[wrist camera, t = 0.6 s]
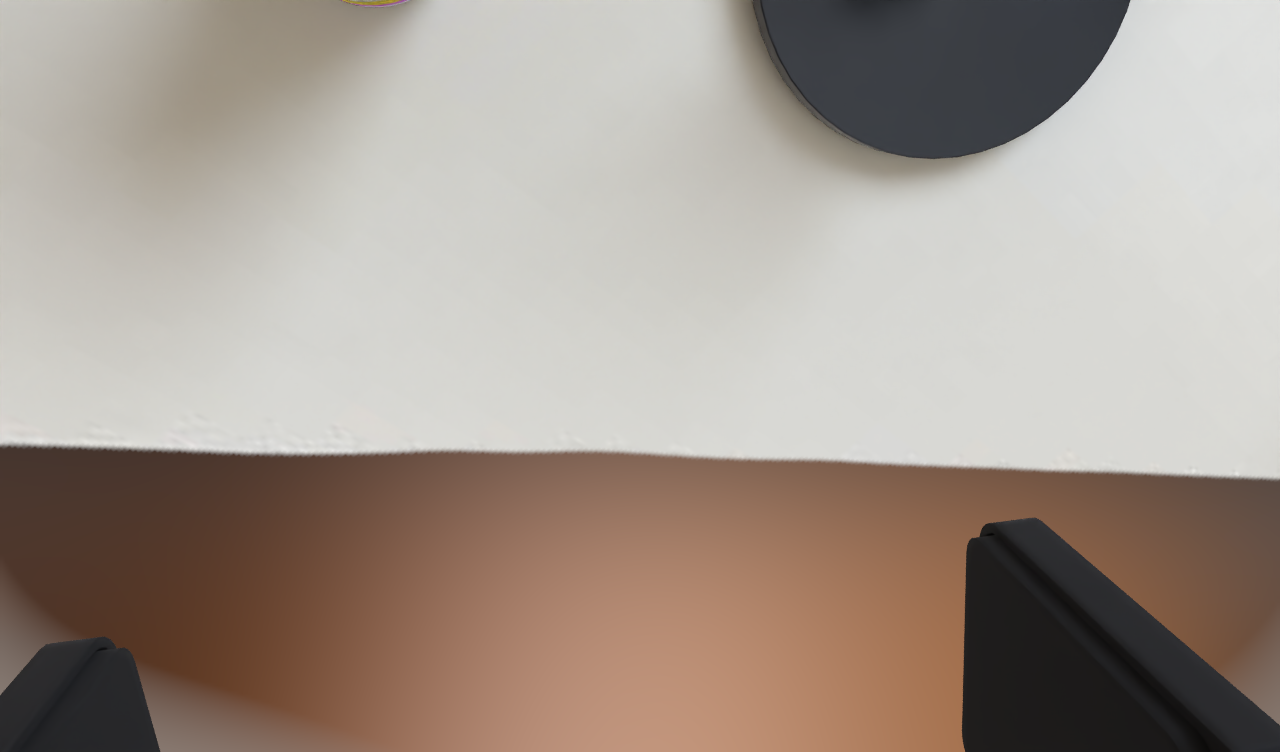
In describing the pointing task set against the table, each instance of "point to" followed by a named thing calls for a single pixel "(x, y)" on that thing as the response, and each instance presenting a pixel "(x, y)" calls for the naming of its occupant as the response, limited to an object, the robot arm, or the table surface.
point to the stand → (936, 66)
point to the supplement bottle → (375, 2)
